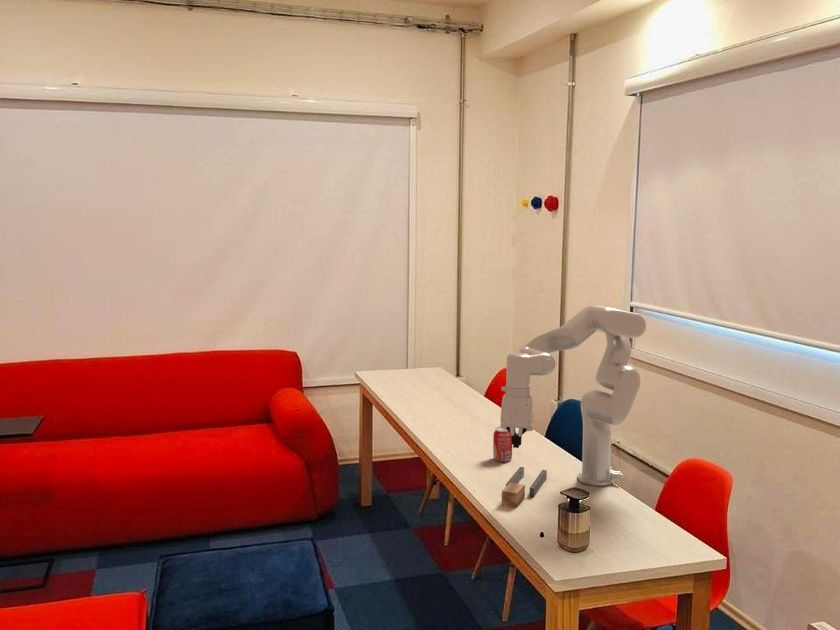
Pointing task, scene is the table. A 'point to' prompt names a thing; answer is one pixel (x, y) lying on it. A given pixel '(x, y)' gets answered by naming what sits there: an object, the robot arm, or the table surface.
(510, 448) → the soda can
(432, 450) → the table surface
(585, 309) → the robot arm
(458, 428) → the table surface
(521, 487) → the walnut block
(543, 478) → the guide channel
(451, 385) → the table surface
